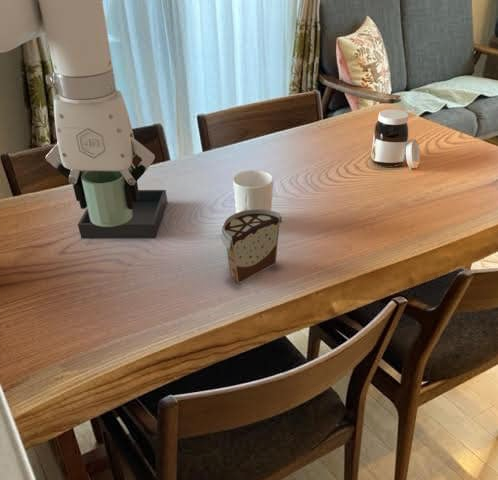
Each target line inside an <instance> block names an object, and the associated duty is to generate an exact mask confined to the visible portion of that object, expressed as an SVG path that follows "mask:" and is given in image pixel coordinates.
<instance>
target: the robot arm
mask: <svg viewBox="0 0 498 480" xmlns="http://www.w3.org/2000/svg"><path fill="white" fill-rule="evenodd" d="M44 35H45V36H46V41H47V45H48V50H49V54H50V58H51V63H52V67H53V72H52V73H51V74H45V83H46V85H47V86H52V87H55V89H56V93H57V94H56V95H54V96H53V115H54V116H53V117H54V127H55V134H56V141H57V143H56V144H55V145H54V146H53V147H52V148H51V150H50V151H49V152H48V153H47V154H46V156H45V160H46V162H48V163H49V164H50V165H51V166H52V167H53V168H55V169H56V171H57V172H58V173H59V174H61V175H62V176H63V177H65V178H66V179H67V181H68V182H69V184H71V185H72V187H73V192H74V196H75V200H76V202H79V206H80V209H81V210H86V209H87V204H86V199H85V195H84V190H83V185H82V181H81V175H82V174H83V172H85V171H120V172H121V174H122V175H123V177H124V178H125V180H126V184H125V193H126V199H127V205H128V209H132V210H133V209H134V206H135V204H136V202H138V201H139V191H138V190H139V185H138V181H139V179H140V178H141V177H142V176H143V175H144V174H145V173H146V171H147V170H148V169H149V167H151V165H152V164H153V163H154V160H155V158H156V156H155V154H154V153H153V152H152V151H150V150H149V149H148V148H147V147H145V146H144V145H143V144H142V143H140V142H139V141H138V140H137V139H135V137H134V131H133V127H132V122H131V119H130V115H129V112H128V109H127V106H126V103H125V99H124V96H123V94H122V92H121V91H120V90H117V87H116V79H115V72H114V68H113V61H112V55H111V54H112V53H111V48H110V41H109V35H108V29H107V23H106V15H105V10H104V3H103V0H0V53H1V54H3V53H7V52H10V51H12V50H14V49H17V48H18V47H20V46H21V45H23V44H25V43H27V42H29V41H32V40H34V39H37V38H39V37H41V36H44ZM136 156H137V157H139V158H140V159H141V161H140V162H139V163H138V164H137V165H136V166H135V164H134V163H133V159H134V158H135V157H136Z"/></svg>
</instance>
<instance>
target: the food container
mask: <svg viewBox="0 0 498 480" xmlns="http://www.w3.org/2000/svg"><path fill="white" fill-rule="evenodd" d="M280 224H283V218H282V216H281V213H280V212H278V211H274V210H271V211H270V210H263V209H253V210H246V211H241V212H238V213H236V212H235V213H234V214H232V215H230V216H229V217H227V219H225V221H224V223H223V225H222V228H221V233H220V240H221V242H222V244H223V245H224V246H225V248H226V253H227V254H226V255H227V260H228V267H229V274H230V277H231V280H232V281H233V282H234V283H235V284H236V285H240V284H242V283H244V282H246V281H248V280H249V279H251V278H253V277H255V276H257V275H259V274H260V273H262V272H264V271H266V270H268V269H270V268H272V267H273V266H275V265H276V264H277V258H278V257H277V255H278V248H279V247H278V245H279V235H280Z"/></svg>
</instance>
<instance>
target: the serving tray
mask: <svg viewBox="0 0 498 480" xmlns="http://www.w3.org/2000/svg"><path fill="white" fill-rule="evenodd" d="M138 191H139V201H138V202H136V204H135V206H134V209H133V210H132V213H133V215H132V218H131V219H130V220H129V221H128V222H126V223H124V224H121V225H118V226H113V227H101V226H97V225H95V224H93V223H92V222H91V221H90V217H89V213H88V209H87V208H85V210H84V213H83V214H82V216H81V218H80V220H79V222H78V224H77V226H78V231H79V235H80V239H157V236H158V234H159V230H160V227H161V224H162V221H163V218H164V215H165V211H166V208H167V206H168V195H167V190H166V189H138Z"/></svg>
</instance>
